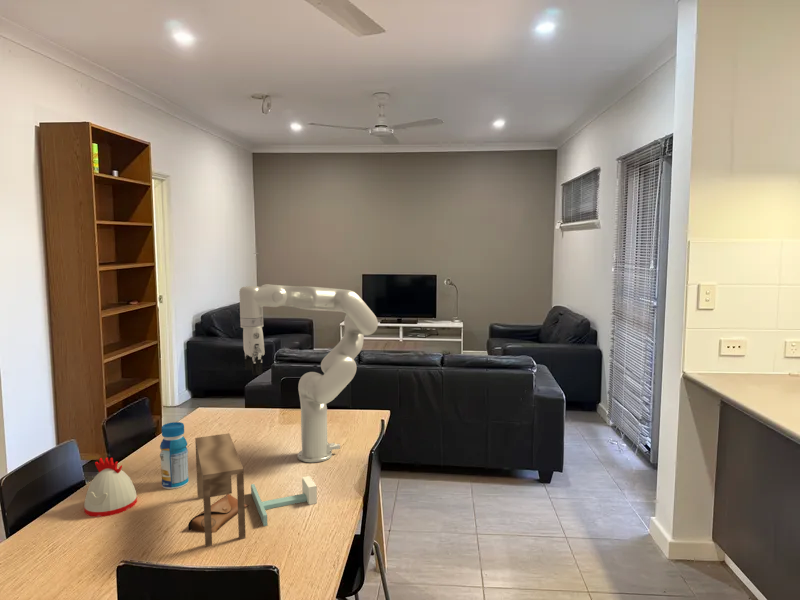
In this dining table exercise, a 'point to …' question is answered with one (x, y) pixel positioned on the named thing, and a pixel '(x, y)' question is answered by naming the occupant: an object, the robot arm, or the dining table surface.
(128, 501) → the kitchen timer
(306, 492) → the mint t-bar
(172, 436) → the beverage bottle
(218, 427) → the dining table surface
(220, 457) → the tunnel
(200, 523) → the sunglasses case
